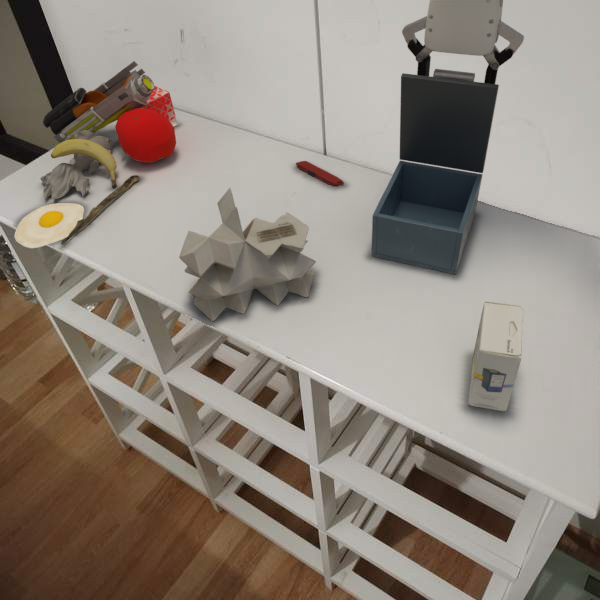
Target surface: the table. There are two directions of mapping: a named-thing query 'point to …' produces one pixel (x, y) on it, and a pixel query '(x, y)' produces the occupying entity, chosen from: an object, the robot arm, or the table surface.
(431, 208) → the storage bin
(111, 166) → the fruit
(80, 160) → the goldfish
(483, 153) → the box lid
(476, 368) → the ink box
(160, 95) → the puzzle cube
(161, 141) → the tomato
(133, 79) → the toy blaster gun
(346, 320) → the table surface
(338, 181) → the utility knife
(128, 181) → the wooden stick
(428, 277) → the table surface
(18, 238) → the cracked egg
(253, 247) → the white crumpled paper lump
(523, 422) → the table surface
